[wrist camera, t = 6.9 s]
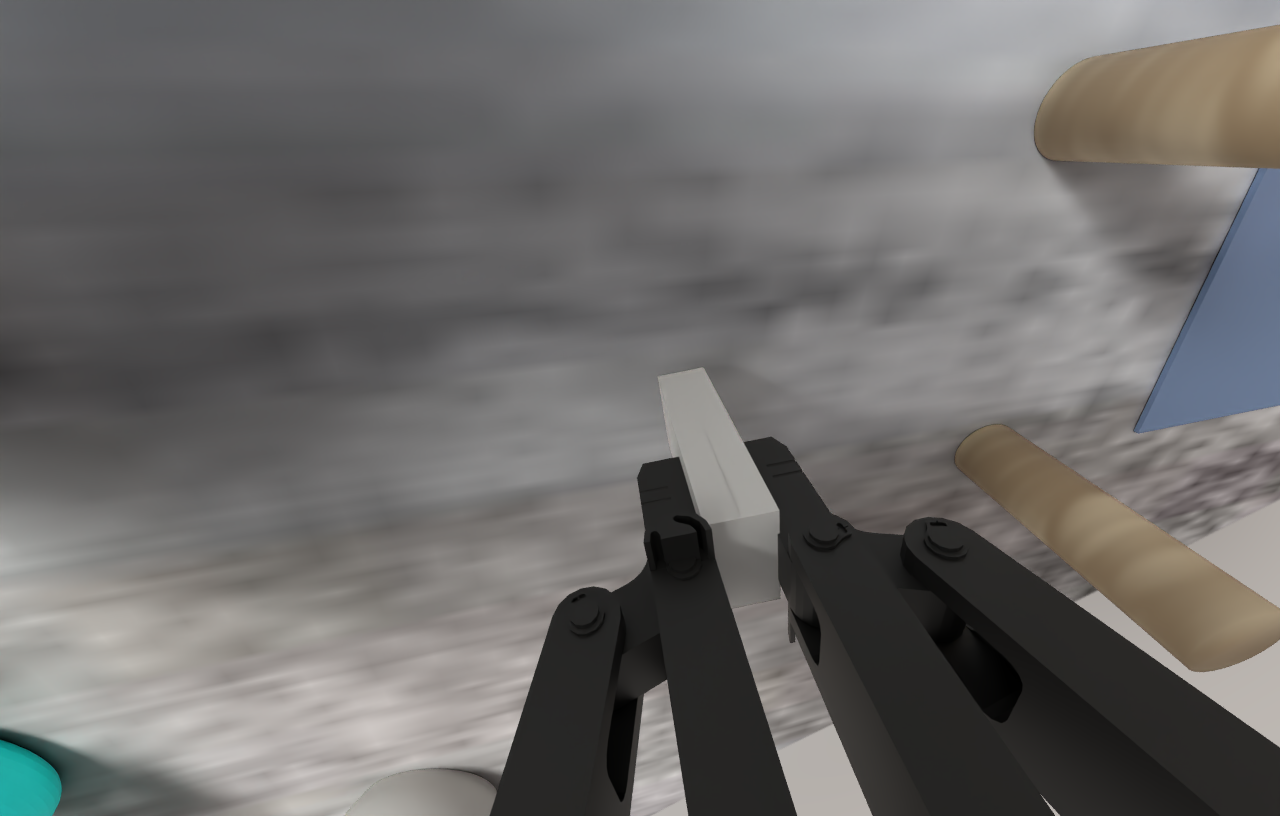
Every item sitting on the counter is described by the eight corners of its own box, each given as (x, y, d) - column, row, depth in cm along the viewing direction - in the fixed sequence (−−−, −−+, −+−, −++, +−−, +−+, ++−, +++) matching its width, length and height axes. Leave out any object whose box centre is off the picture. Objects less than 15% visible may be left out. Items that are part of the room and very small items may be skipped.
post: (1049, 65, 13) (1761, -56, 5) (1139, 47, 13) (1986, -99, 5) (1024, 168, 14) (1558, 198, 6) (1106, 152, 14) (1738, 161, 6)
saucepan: (308, 792, 29) (272, 875, 26) (554, 700, 27) (549, 779, 23) (419, 840, 34) (401, 914, 31) (632, 767, 32) (638, 839, 29)
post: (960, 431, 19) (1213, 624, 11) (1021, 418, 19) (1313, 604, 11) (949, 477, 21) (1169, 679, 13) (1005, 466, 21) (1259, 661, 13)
